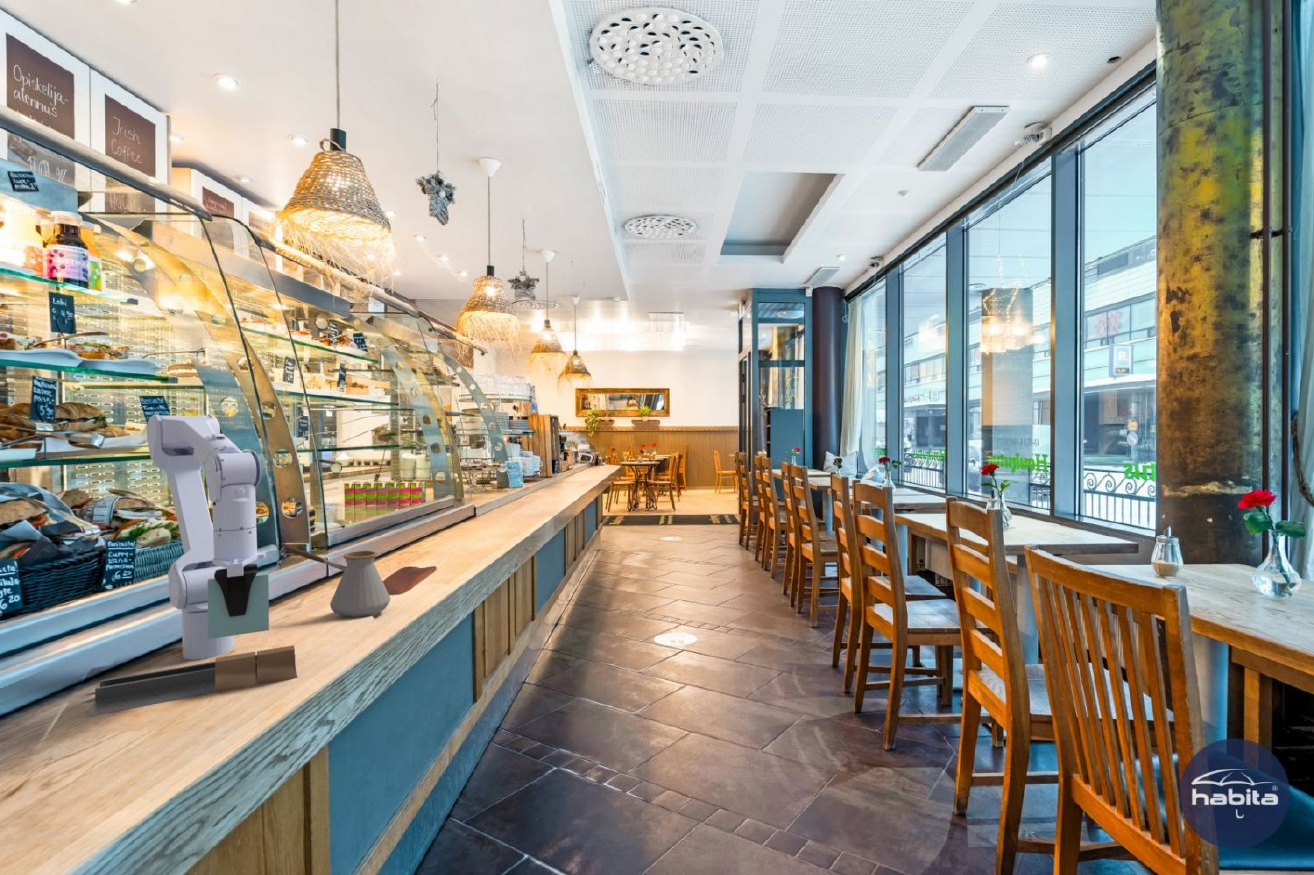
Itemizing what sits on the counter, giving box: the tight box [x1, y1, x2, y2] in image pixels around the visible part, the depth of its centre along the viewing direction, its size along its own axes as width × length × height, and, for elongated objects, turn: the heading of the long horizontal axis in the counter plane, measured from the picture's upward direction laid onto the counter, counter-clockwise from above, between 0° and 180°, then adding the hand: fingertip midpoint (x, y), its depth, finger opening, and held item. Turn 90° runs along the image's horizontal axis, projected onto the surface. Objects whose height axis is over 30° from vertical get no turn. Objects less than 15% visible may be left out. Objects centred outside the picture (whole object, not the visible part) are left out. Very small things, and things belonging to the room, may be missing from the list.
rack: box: [85, 654, 298, 718], centre depth 97 cm, size 11×25×2 cm, turn 122°
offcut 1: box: [214, 651, 257, 693], centre depth 96 cm, size 2×5×4 cm, turn 122°
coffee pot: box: [279, 545, 391, 620], centre depth 133 cm, size 21×12×15 cm, turn 97°
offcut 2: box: [256, 644, 296, 686], centre depth 99 cm, size 2×5×4 cm, turn 122°
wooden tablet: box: [382, 565, 438, 596], centre depth 161 cm, size 27×10×2 cm, turn 1°
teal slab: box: [208, 572, 270, 639], centre depth 101 cm, size 2×8×9 cm, turn 123°
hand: (237, 613), depth 101 cm, fingers closed on teal slab, 1 cm apart
